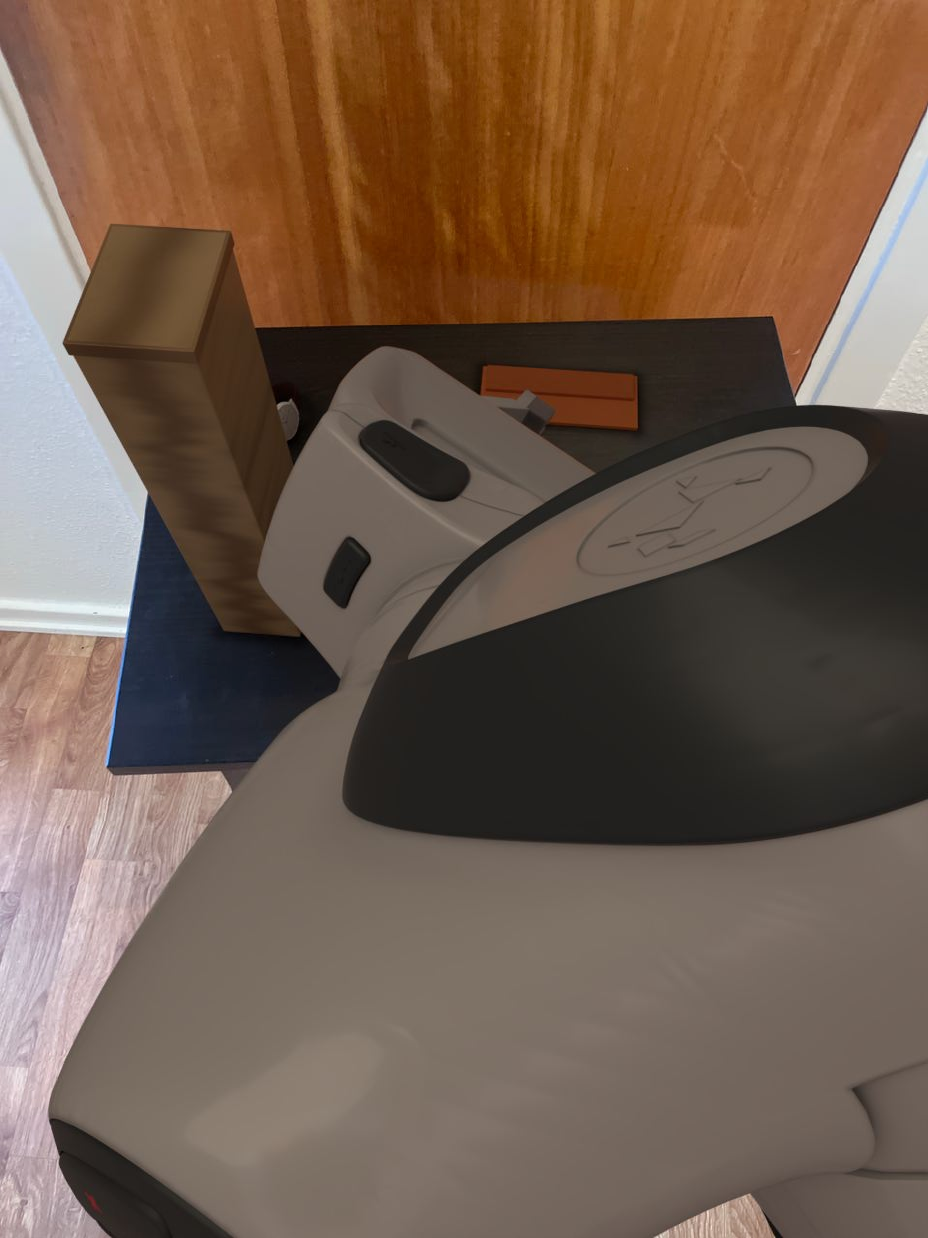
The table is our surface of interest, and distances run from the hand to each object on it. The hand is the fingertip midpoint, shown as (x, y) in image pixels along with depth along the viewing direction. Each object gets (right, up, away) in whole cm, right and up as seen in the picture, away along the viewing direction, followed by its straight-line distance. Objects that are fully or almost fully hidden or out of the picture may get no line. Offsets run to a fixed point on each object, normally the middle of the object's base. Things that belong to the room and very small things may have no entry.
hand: (629, 477), depth 35 cm
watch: (-24, +11, +40) cm, 48 cm away
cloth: (+2, +14, +42) cm, 44 cm away
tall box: (-22, -3, +33) cm, 40 cm away
